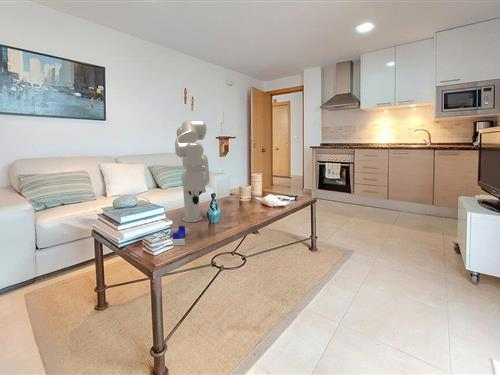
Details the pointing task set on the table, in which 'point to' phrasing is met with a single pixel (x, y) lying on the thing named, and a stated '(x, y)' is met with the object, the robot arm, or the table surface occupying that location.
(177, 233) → the cable clip
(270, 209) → the table surface
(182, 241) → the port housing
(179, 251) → the table surface
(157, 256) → the table surface
